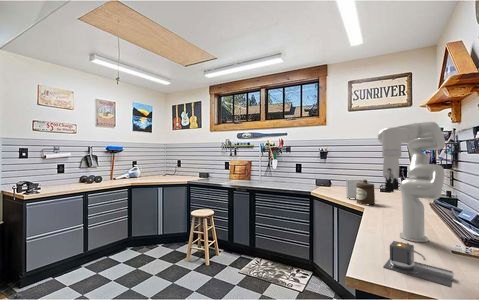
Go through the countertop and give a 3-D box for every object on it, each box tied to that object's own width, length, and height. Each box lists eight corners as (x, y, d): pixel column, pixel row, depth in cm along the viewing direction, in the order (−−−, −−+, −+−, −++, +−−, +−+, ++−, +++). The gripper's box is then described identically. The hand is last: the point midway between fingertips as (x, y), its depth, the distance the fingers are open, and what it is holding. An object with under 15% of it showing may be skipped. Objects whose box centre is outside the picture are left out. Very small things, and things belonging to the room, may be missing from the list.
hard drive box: (362, 198, 245) (361, 178, 246) (364, 199, 238) (364, 179, 238) (346, 197, 247) (346, 178, 248) (348, 199, 240) (348, 179, 240)
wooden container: (353, 202, 224) (352, 179, 225) (366, 201, 227) (366, 178, 228) (363, 205, 210) (363, 180, 210) (378, 205, 213) (378, 180, 213)
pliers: (402, 256, 104) (386, 240, 124) (402, 258, 104) (386, 242, 124) (428, 259, 102) (407, 242, 121) (428, 261, 102) (407, 244, 121)
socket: (393, 254, 102) (393, 240, 102) (413, 259, 97) (413, 244, 97) (389, 259, 97) (389, 245, 97) (410, 265, 92) (410, 249, 92)
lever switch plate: (391, 256, 105) (391, 243, 105) (454, 272, 91) (453, 257, 91) (383, 267, 95) (383, 252, 95) (452, 287, 81) (451, 269, 81)
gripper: (387, 154, 121) (387, 187, 120) (377, 153, 108) (377, 191, 108) (404, 154, 115) (405, 189, 115) (397, 153, 103) (397, 193, 103)
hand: (392, 190), depth 112 cm, fingers open, 9 cm apart
